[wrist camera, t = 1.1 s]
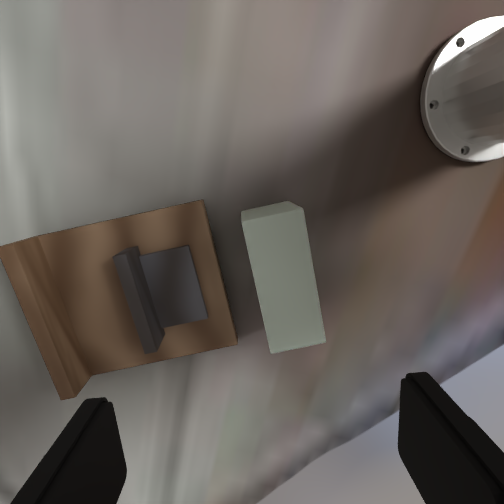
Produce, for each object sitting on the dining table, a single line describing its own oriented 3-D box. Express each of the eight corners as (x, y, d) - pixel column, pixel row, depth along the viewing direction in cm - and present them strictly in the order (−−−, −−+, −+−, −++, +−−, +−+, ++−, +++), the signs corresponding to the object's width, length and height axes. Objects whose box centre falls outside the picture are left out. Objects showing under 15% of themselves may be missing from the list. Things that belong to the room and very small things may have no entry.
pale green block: (288, 200, 32) (303, 208, 24) (307, 305, 35) (326, 342, 27) (241, 211, 32) (241, 221, 25) (264, 314, 35) (270, 353, 27)
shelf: (203, 199, 32) (196, 203, 27) (237, 337, 36) (237, 362, 31) (33, 236, 32) (-4, 247, 27) (85, 370, 36) (60, 400, 31)
